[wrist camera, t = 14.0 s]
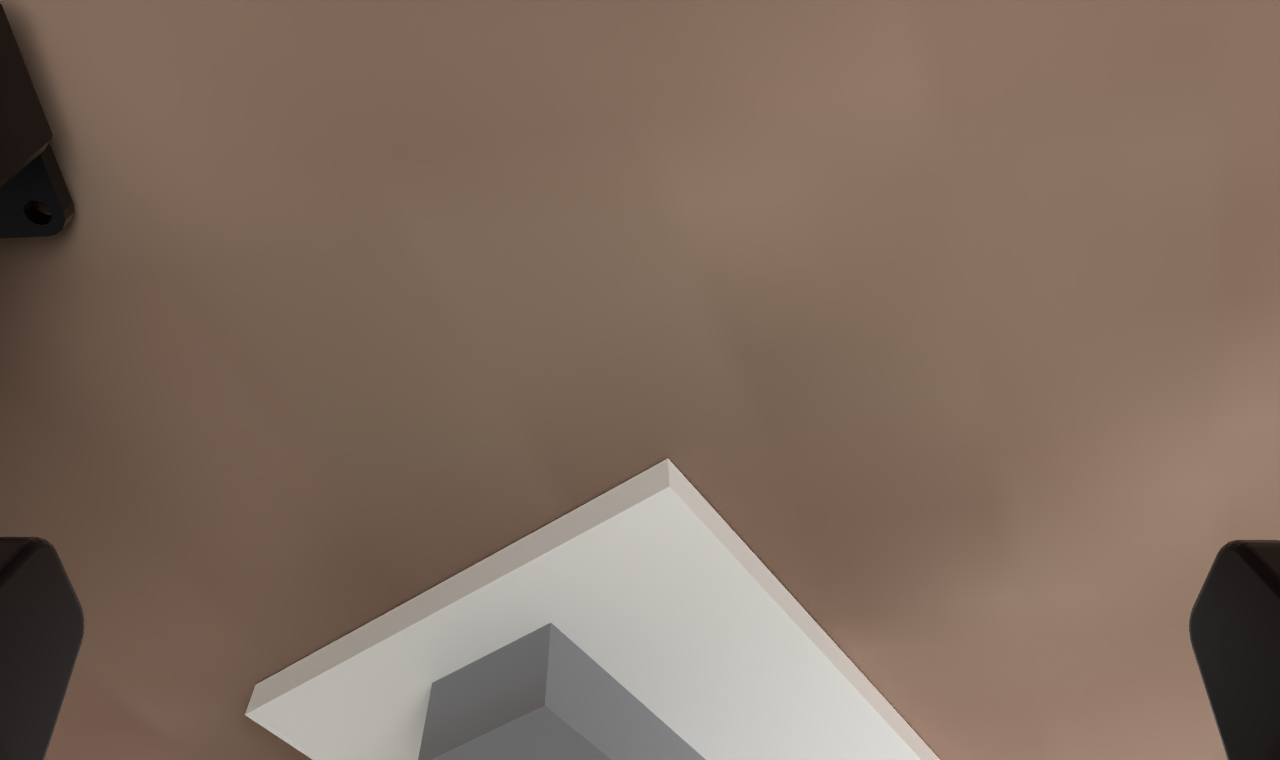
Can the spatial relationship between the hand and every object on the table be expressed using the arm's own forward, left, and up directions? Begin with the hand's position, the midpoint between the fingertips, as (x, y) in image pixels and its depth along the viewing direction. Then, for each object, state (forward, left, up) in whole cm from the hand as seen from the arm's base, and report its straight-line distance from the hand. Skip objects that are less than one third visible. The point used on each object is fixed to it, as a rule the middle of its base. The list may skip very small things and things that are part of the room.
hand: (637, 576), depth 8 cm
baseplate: (+1, -23, -13) cm, 26 cm away
